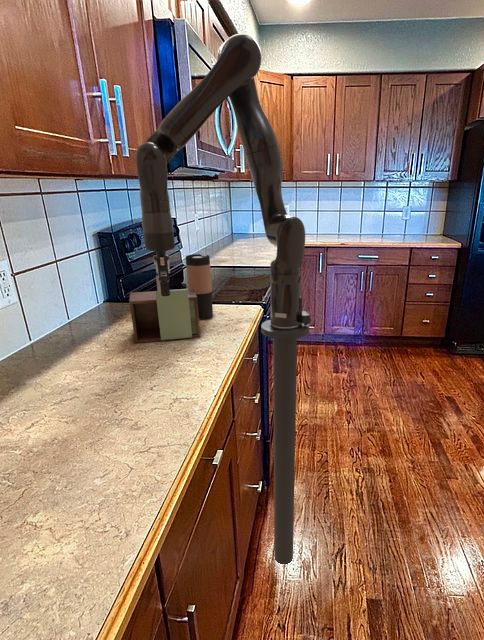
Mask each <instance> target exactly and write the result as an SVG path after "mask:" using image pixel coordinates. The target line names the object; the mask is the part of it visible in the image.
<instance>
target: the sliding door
mask: <svg viewBox="0 0 484 640" xmlns="http://www.w3.org/2000/svg"><path fill="white" fill-rule="evenodd" d="M161 276H167V275H161ZM155 281H156V288H157V290H154V291H155V293H156V301H157V310H158V318H159V326H160V335H161V340H162V341H169V340H168V339H173V340H180V339H179V338H183V339H190V338H189V337H192V331H191V319H190V308H189V296H188V288H181V289H170V295H169V296H162V295H161V287H160V282H159V275H155Z"/></svg>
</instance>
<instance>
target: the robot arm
mask: <svg viewBox="0 0 484 640" xmlns="http://www.w3.org/2000/svg"><path fill="white" fill-rule="evenodd" d="M261 65H262V51H261V47H260V46H259V44H258V42H257V40H256V39H254V37H253V36H251V35H249V34H245V33H236V34H233V35H232V36H229V37H228V38H227V39H226V40H225V41H224V42H223V43H222V44H221V45H220V46H219V48H218V51H217V56H216V61H215V63H214V65H213V66H212V68H210V70H209V71H208V72H207V74H206V75H205V76H204V77H203V78H202V80H200V81H199V83H198V84H197V85H196V86H194V88H192V89H191V90H190V91H189V92H188V93H187V94H186V95H185V96H184V97H183V98H181V99H180V101H178V102H177V104H176V105H174V107H173V108H172V109H171V110H170V111H169V112H168V113H167V115H165V117H164V118H163V120H161V122H160V123H159V125H158V127H157V129H155V131H153V133H152V134H151V135H150V136H149V137H148V138H147V139H146V140H145V141H144V142H143V143H141V144H140V145H139V146H138V147H137V148H136V150H135V156H134V160H135V165H136V170H137V178H138V183H139V199H140V208H141V226H142V232H143V233H142V234H143V242H144V248H145V249H146V250H147V251H150V252H152V251H154V254H155V255H152V257H153V264H154V265H155V266H154V267H155V272H156V276H159V282H160V287H161V295H162V296H169V295H170V290H171V289H170V279H171V278H170V275H169V274H171V267H170V264H171V259H170V255H168V254H167V253H166V252H167V251H171V250H174V249H175V248H176V243H175V234H174V223H173V218H172V212H171V203H170V201H171V200H170V193H169V189H168V164H169V162H170V161H171V160H172V159H173V158H174V157H175V155H176V154H177V153H178V152H179V151H181V150H182V149H183V148H184V147H185V146H186V145H187V144H188V143H189V142H190V140H192V139H193V137H194V136H195V135H196V134H197V133H198V131H199V130H200V129H202V127H203V126H204V125H205V123H206V122H208V120H209V119H210V117H211V116H212V115H213V114H214V113H215V111H216V110H217V109H218V108H219V107H220V106H221V105H222V104H223V103H224V102H225V101H226V99H228V98H229V101H230V104H231V107H232V110H233V113H234V117H235V120H236V126H237V130H238V134H239V137H240V140H241V144H242V148H243V152H244V156H245V159H246V163H247V166H248V170H249V172H250V175H251V180H252V182H253V187H254V189H255V193H256V195H257V199H258V203H259V207H260V210H261V211H260V212H261V218H262V222H263V228H264V233H265V237H266V239H267V241H269V243H270V244H271V245H272V246H274V247H276V256H275V259H274V260H272V261H271V262H270V265H269V266H270V267H269V275H270V276H269V277H270V280H269V282H270V283H269V284H270V289H269V291H270V320H271V322H270V326H271V327H272V328H274V329H278V330H293V329H297V328H299V327H302V324H304V325H305V326H306V325H308V324H309V325H310V323H311V322H312V318H311V315H310V314H309V312H307V311H305V310H303V300H304V299H303V297H302V296H301V287H302V285H301V283H302V281H301V280H302V265H303V264H304V260H305V251H306V250H305V248H306V229H305V225H304V222H303V220H302V219H300V218H299V217H297V216H295V215H289V214H288V212H287V210H286V207H285V203H284V200H283V193H282V184H283V174H284V173H283V172H284V164H283V163H284V162H283V157H282V153H281V149H280V145H279V142H278V138H277V135H276V133H275V130H274V128H273V125H272V124H271V122H270V120H269V118H268V116H267V114H266V112H265V111H264V109H263V107H262V104H261V101H260V98H259V93H258V89H257V84H256V79H255V77H256V76H257V75H258V73H259V71H260V68H261ZM161 275H167V276H161Z"/></svg>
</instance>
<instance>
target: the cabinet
mask: <svg viewBox="0 0 484 640" xmlns="http://www.w3.org/2000/svg"><path fill="white" fill-rule="evenodd" d="M187 289H188V288H187ZM155 291H156V290H153V291H151V290H150V291H135V292H129V293H130V294H129V301H128V302H129V309H130V316H131V323H132V329H133V336H134V337H133V338H134V343H135V344H141V343H149V342H150V343H151V342H161V341H163V340H161V335H160V326H159V318H158V310H157V301H156V293H155ZM188 296H189V308H190V319H191V331H192V337H189V338H188V339H192V338H193V339H195V338H200V337H201V331H200V320H199V316H198V303H197V296H196V294H195V292H194V289H188ZM183 339H184V338H179V339H178V340H183ZM171 340H172V341H173V340H174V339H168V340H167V341H171Z"/></svg>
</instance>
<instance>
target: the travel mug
mask: <svg viewBox="0 0 484 640" xmlns="http://www.w3.org/2000/svg"><path fill="white" fill-rule="evenodd" d="M185 267H186V268H185V269H186V279H187V281H186V282H187V289H194V292H195V294H196V296H197V303H198V316H199V321H201V320H209V319H212V318H213V317H214V316H213V315H214V307H213V286H212V274H211V273H212V271H211V261H210V255H209V254H206V255H202V254H200V253H194V254H188V255H186V256H185Z"/></svg>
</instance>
